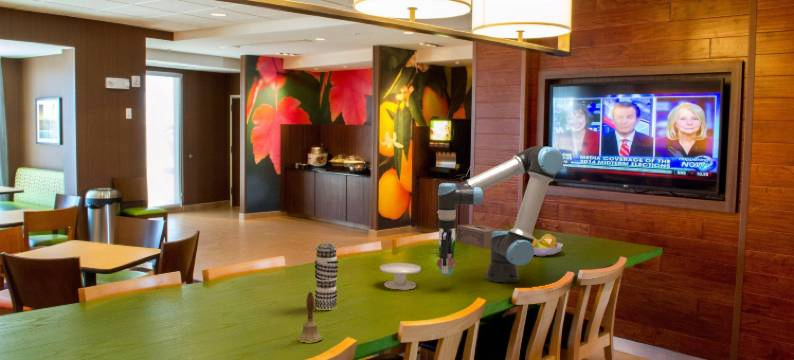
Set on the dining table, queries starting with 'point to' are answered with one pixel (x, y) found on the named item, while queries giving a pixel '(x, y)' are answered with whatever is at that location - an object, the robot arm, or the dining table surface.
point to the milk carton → (452, 241)
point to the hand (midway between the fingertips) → (446, 270)
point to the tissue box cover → (475, 235)
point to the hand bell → (310, 322)
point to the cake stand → (400, 275)
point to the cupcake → (450, 266)
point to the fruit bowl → (546, 245)
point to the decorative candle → (326, 276)
